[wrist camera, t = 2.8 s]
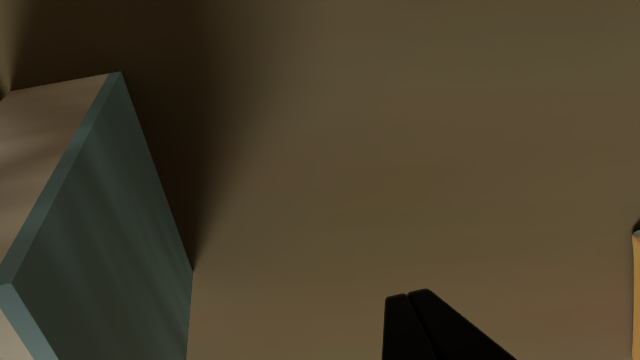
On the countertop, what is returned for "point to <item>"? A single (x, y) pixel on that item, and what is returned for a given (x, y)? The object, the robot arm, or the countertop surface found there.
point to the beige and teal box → (86, 230)
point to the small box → (636, 296)
